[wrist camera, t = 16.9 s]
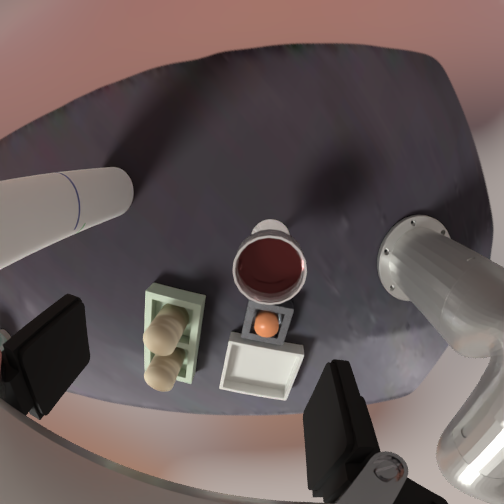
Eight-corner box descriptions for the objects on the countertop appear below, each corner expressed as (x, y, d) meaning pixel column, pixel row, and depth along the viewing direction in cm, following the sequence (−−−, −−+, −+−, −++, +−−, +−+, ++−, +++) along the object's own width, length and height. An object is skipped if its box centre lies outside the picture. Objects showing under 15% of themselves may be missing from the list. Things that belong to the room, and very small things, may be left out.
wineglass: (276, 201, 36) (278, 219, 24) (307, 244, 37) (321, 279, 26) (233, 232, 37) (216, 263, 26) (264, 272, 39) (261, 317, 27)
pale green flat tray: (206, 295, 40) (201, 305, 37) (195, 372, 45) (191, 383, 42) (153, 282, 40) (145, 290, 37) (150, 359, 45) (144, 370, 42)
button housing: (292, 300, 40) (294, 309, 37) (282, 336, 41) (282, 345, 39) (250, 292, 40) (249, 300, 37) (242, 328, 41) (240, 337, 39)
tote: (303, 345, 42) (304, 354, 39) (285, 390, 45) (286, 400, 42) (231, 331, 42) (228, 340, 39) (221, 378, 45) (219, 388, 42)
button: (280, 310, 39) (281, 319, 37) (275, 329, 40) (275, 339, 38) (258, 305, 39) (257, 315, 37) (253, 324, 40) (252, 334, 38)
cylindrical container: (141, 181, 36) (-9, 216, 12) (121, 225, 38) (-14, 298, 14) (104, 158, 35) (-46, 174, 12) (86, 202, 37) (-52, 250, 14)
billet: (186, 345, 42) (173, 374, 35) (184, 365, 43) (172, 394, 37) (159, 338, 42) (143, 364, 35) (159, 358, 43) (144, 386, 37)
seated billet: (190, 306, 40) (176, 332, 33) (187, 331, 41) (174, 359, 34) (161, 299, 40) (143, 323, 33) (160, 324, 41) (143, 350, 34)
